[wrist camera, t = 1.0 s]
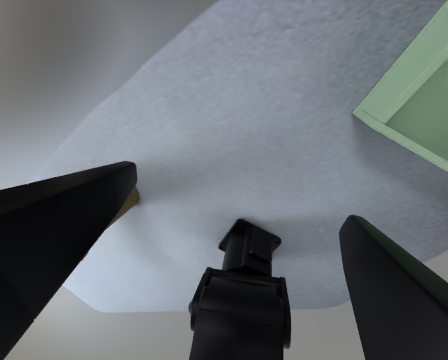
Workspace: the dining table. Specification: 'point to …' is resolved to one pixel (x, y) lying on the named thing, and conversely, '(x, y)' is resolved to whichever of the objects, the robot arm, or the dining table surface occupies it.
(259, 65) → the dining table surface
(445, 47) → the tray
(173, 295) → the dining table surface
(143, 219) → the dining table surface
